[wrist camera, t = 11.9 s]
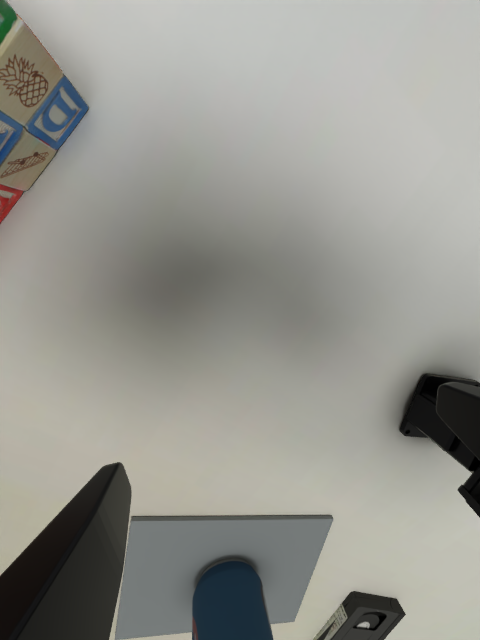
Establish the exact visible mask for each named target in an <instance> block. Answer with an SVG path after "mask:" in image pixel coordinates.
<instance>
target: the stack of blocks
mask: <svg viewBox="0 0 480 640" xmlns="http://www.w3.org/2000/svg"><path fill="white" fill-rule="evenodd" d="M87 110H88V106H87V104H86V103H85V101H84V100H83V99H82V97H81V96H80V95H79V93H78V92H77V91H76V89H75V88H74V87H73V85H72V84H71V83H70V81H69V80H68V79H67V77H66V76H65V75H64V74H63V73H62V70H61V69H60V68H59V66H58V65H57V64H56V62H55V61H54V60H53V58H52V57H51V56H50V54H49V53H48V52H47V50H46V49H45V48H44V46H43V45H42V44H41V43H40V41H39V40H38V39H37V37H36V36H35V35H34V34H33V32H32V31H31V30H30V29H29V27H28V26H27V25H26V24H25V22H24V21H23V20H22V19H21V18H20V17H19V16H18V15H17V14H16V13H15V11H14V10H13V8H12V7H11V6H10V5H9V3H8V2H7V1H6V0H0V223H1V222H2V220H3V219H4V218H5V217H6V215H7V214H8V213H9V211H10V210H11V209H12V207H13V205H14V204H15V203H16V202H17V201H18V199H19V198H20V197H21V195H22V193H23V191H27V190H29V188H30V187H31V186H32V184H33V183H34V182H35V180H36V179H37V178H38V176H39V175H40V174H41V172H42V171H43V170H44V168H45V167H46V166H47V164H48V163H49V162H50V161H51V159H52V158H53V157H54V155H55V154H56V151H57V149H58V148H59V147H60V146H61V145H62V144H63V143H64V141H65V140H66V139H67V137H68V136H69V135H70V134H71V132H72V131H73V129H74V128H75V126H76V125H77V124H78V123H79V121H80V120H81V118H82V117H83V116H84V115H85V113H86V112H87Z"/></svg>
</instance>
